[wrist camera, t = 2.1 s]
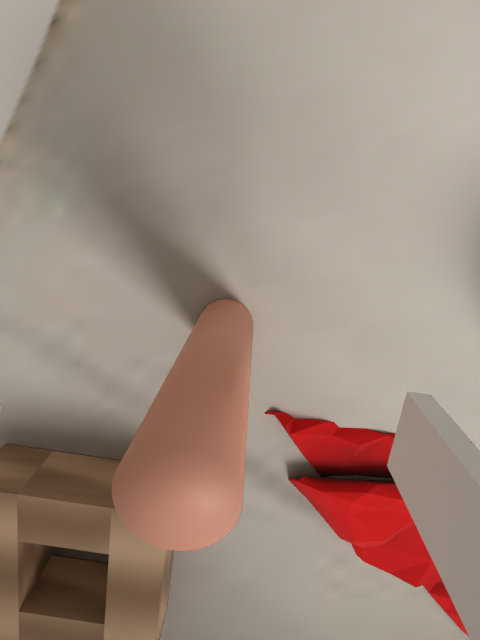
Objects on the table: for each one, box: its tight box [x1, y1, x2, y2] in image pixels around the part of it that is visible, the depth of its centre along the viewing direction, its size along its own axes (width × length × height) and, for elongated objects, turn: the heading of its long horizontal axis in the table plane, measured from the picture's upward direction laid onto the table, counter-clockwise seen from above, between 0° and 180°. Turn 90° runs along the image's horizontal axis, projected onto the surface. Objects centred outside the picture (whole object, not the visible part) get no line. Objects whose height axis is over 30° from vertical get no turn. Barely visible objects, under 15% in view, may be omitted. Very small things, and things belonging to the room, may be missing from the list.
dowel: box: [112, 299, 253, 551], centre depth 16 cm, size 3×3×14 cm
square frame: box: [0, 444, 173, 640], centre depth 25 cm, size 11×11×4 cm
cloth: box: [265, 411, 469, 636], centre depth 25 cm, size 26×14×2 cm, turn 36°
